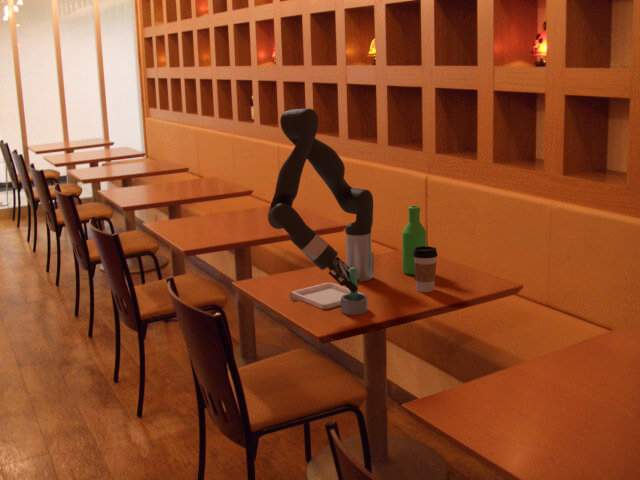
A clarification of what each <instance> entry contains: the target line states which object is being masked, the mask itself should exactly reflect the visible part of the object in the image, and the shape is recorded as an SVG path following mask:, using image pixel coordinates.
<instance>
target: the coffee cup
mask: <svg viewBox="0 0 640 480" xmlns="http://www.w3.org/2000/svg"><path fill="white" fill-rule="evenodd" d="M413 256H414V267H415V275H414V278H415V283H416V284H415V286H416V291H418V292H419V293H430V292H434V290H435V280H436V270H437V262H438V261H437V257H438V251H437V247H433V246H428V245H426V246H421V247H416V248H414V252H413Z"/></svg>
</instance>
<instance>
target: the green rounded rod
mask: <svg viewBox="0 0 640 480" xmlns="http://www.w3.org/2000/svg"><path fill="white" fill-rule="evenodd" d="M350 281H352V282H353V283H354V284H355V285H356V286H357V287H358V286H359V284H358V283H359V282H358V279H357V268H356V267H352V268H350ZM358 290H359V289H358ZM358 290H357V291H356V292H355V293H352V292H351V291H350V300H358V292H359V291H358Z"/></svg>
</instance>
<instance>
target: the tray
mask: <svg viewBox="0 0 640 480" xmlns="http://www.w3.org/2000/svg"><path fill="white" fill-rule="evenodd" d="M358 293H361V294H364V295H366V294H365V293H362V292H359V291H358ZM346 294H350V290H349V289H348V288H347V287H346V286H344V285H343V286H341V285H340V284H338V283H334V282H332V281H329V282H323V283H320V284H316V285H312V286H308V287H304V288H300V289H296V290H292V291H289V295H290V296H289V297H290V298H289V299H290V300H292V301H295V302H297V303H299V302H303V303H306V304H308V305H311V306H314V307H315V308H319V309H322V311H323V310H324V311H325V310H328V309H331V308H335V307H338V306H341V297H342V295H346Z"/></svg>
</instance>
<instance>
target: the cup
mask: <svg viewBox="0 0 640 480" xmlns="http://www.w3.org/2000/svg"><path fill="white" fill-rule="evenodd" d="M361 293H362V292H360V293H358V300H350V294H346V295H342V297H341V305H340V309H341V310H340V311H341V312H340V313H342V314H344V315H347V316H361V315H365V314H366V313H367V312H368V309H369V307H368V295H366V294H365V293H363V294H361ZM364 294H365V295H364Z"/></svg>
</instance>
